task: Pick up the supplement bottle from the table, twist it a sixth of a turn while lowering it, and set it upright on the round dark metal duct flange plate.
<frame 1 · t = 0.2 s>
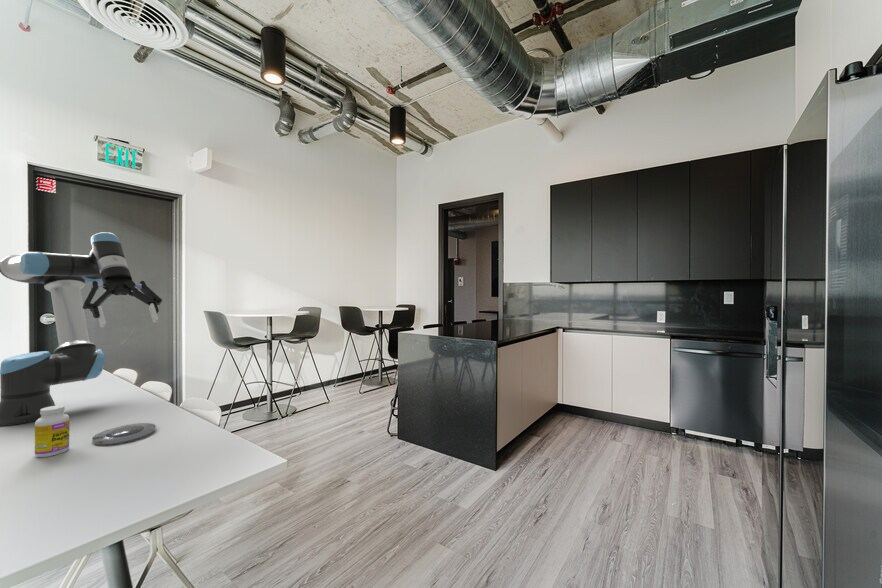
hand: (131, 323, 116), 35 cm above the table, tool tilted 35°, fingers open, 13 cm apart
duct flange: (125, 435, 112), on the table
supplement bottle: (52, 453, 100), on the table
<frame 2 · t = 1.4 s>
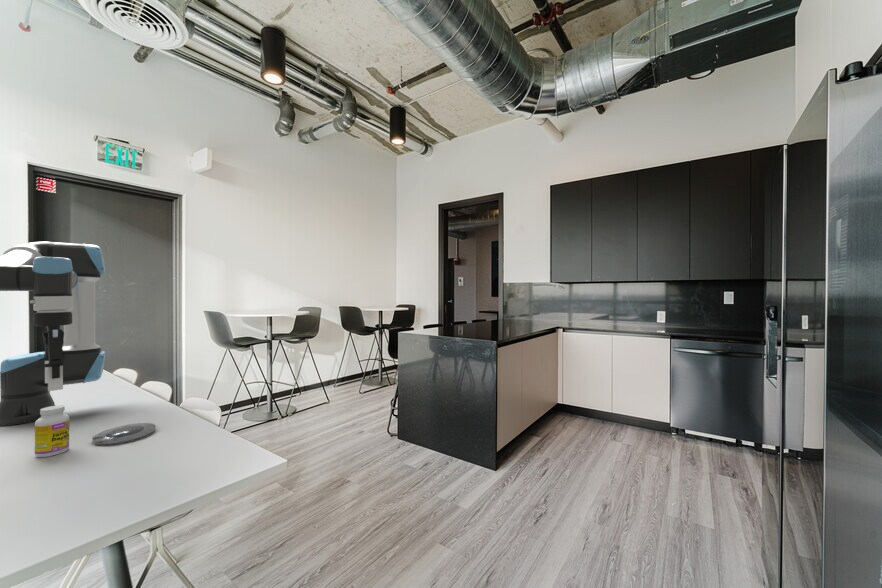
hand: (53, 386, 100), 19 cm above the table, tool pointing down, fingers open, 13 cm apart
nothing on the table moved.
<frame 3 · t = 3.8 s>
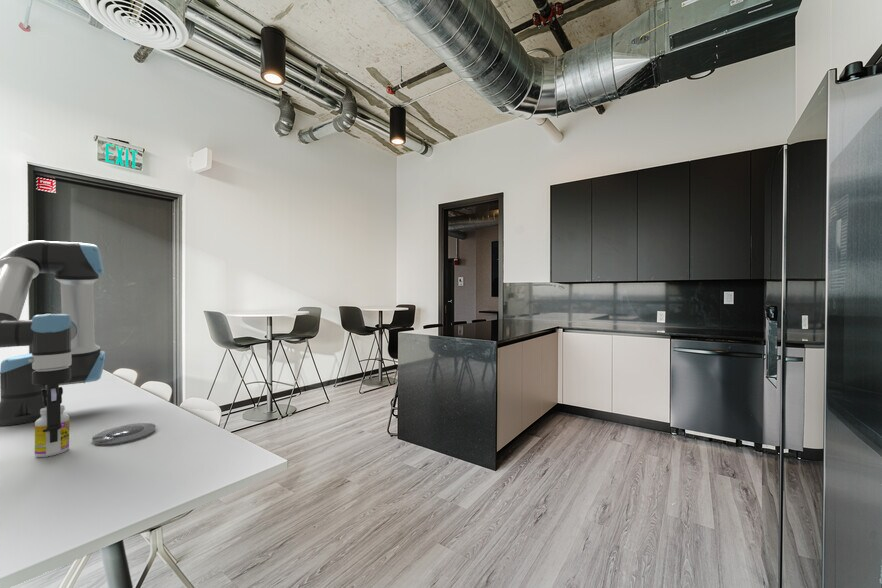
hand: (52, 449, 100), 1 cm above the table, tool pointing down, fingers closed on supplement bottle, 7 cm apart
supplement bottle: (52, 453, 100), on the table, touching gripper
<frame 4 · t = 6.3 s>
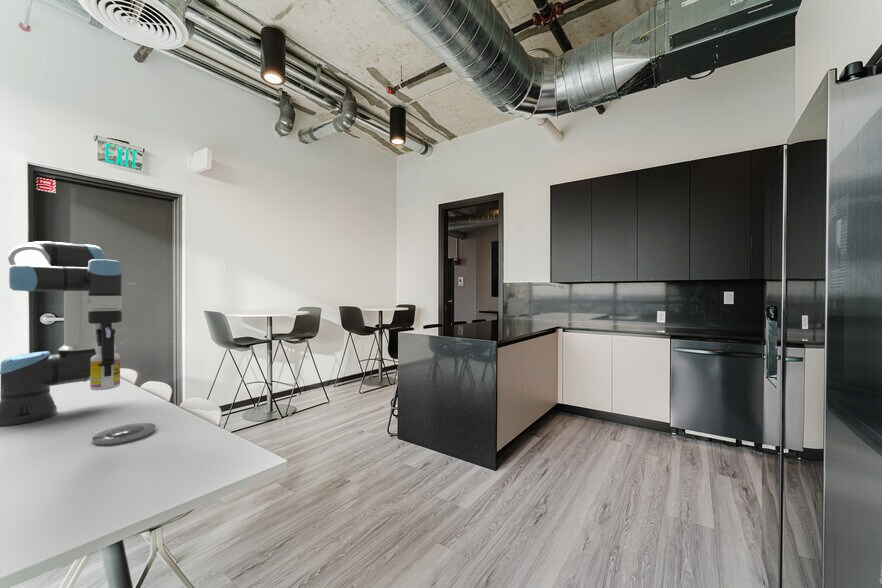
hand: (105, 384, 109), 17 cm above the table, tool pointing down, fingers closed on supplement bottle, 7 cm apart
supplement bottle: (105, 388, 109), point 16 cm above the table, touching gripper
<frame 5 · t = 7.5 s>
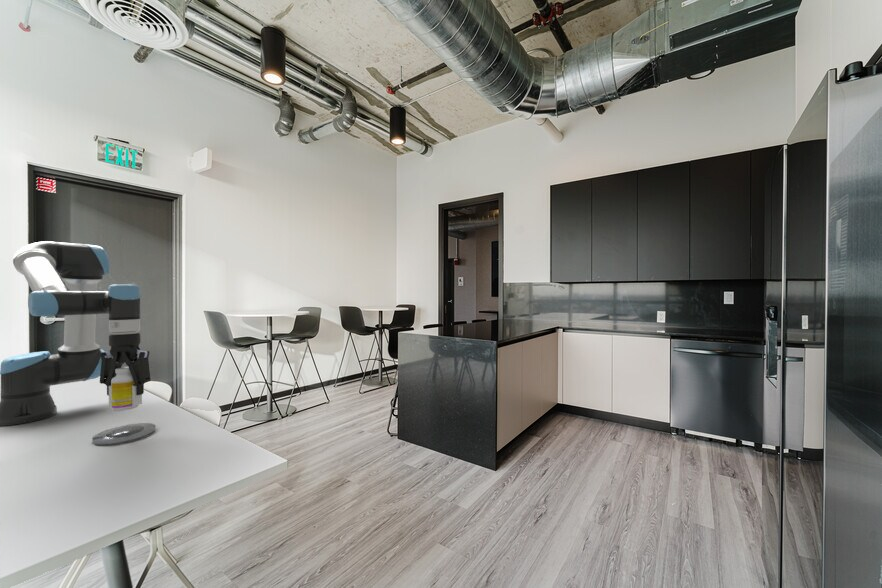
hand: (125, 405, 112), 10 cm above the table, tool pointing down, fingers closed on supplement bottle, 7 cm apart
supplement bottle: (125, 408, 112), point 9 cm above the table, touching gripper
when the fingers open (4 cm above the table, at t = 8.8 s): supplement bottle drops 1 cm, resting on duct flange.
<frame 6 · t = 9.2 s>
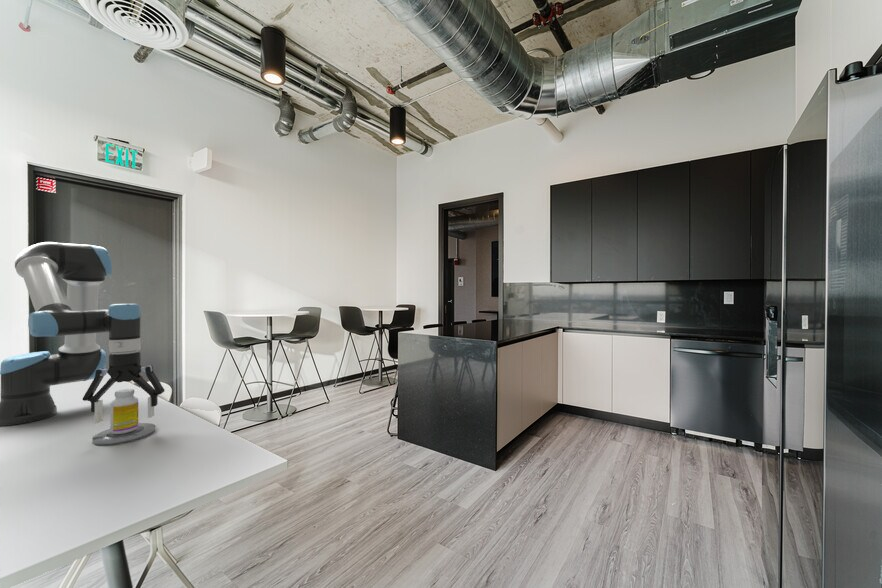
hand: (125, 419, 112), 5 cm above the table, tool pointing down, fingers open, 13 cm apart
supplement bottle: (124, 431, 112), point 1 cm above the table, touching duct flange
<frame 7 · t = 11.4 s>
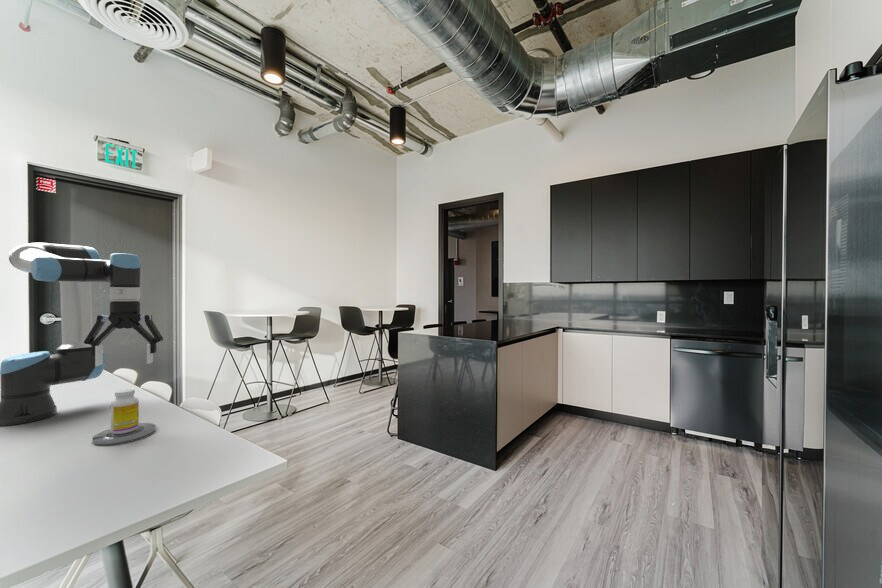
hand: (125, 364, 117), 22 cm above the table, tool pointing down, fingers open, 13 cm apart
nothing on the table moved.
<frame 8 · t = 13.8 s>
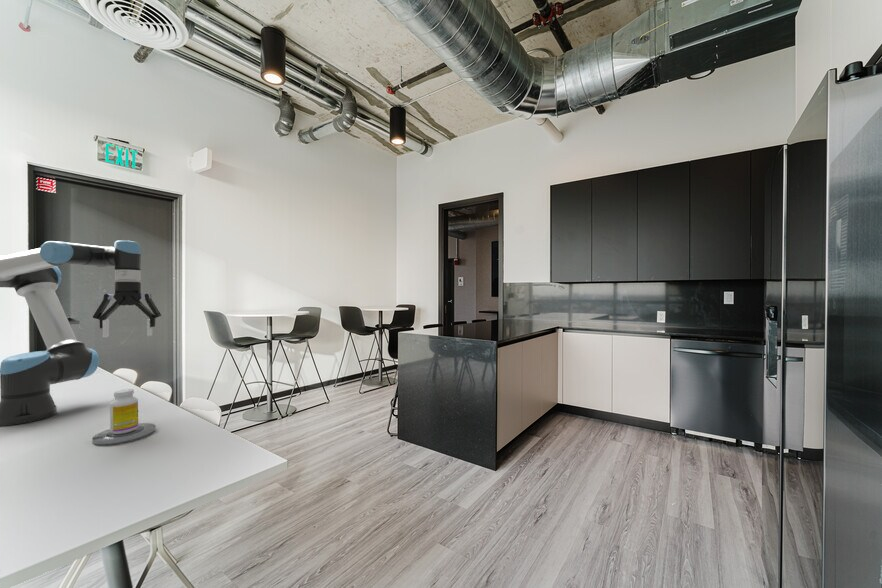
hand: (128, 336, 136), 29 cm above the table, tool pointing down, fingers open, 13 cm apart
nothing on the table moved.
at the end: supplement bottle 0.2 cm off-centre on the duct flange, point 1.2 cm above the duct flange's base; supplement bottle tilted 1°; the gripper is holding nothing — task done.
